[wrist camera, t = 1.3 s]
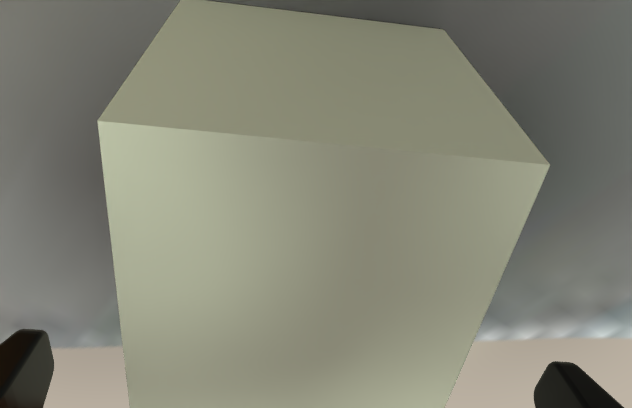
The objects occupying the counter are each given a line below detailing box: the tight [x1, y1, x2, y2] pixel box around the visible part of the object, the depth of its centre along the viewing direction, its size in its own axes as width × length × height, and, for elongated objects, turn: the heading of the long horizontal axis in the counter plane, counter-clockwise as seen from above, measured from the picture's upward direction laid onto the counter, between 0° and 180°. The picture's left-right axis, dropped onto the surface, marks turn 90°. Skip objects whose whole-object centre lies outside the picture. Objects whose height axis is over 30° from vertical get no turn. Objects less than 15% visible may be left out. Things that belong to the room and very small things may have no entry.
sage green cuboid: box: [97, 0, 550, 408], centre depth 14 cm, size 8×8×8 cm
